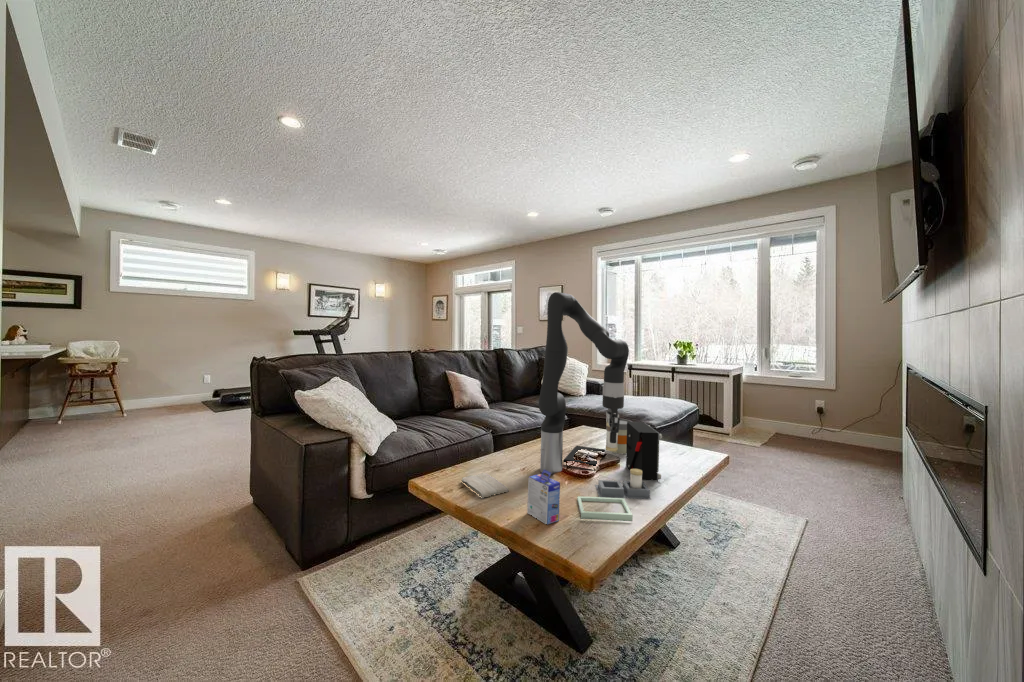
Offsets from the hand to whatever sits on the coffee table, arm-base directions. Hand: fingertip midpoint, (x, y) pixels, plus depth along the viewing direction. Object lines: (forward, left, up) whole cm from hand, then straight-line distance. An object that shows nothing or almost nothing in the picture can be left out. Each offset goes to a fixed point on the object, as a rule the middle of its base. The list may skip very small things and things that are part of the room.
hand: (611, 440), depth 140 cm
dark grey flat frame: (-5, +37, -20) cm, 42 cm away
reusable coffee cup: (+14, +52, -20) cm, 57 cm away
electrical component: (+17, +21, -20) cm, 34 cm away
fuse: (0, 0, -3) cm, 3 cm away
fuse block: (+4, 0, -20) cm, 20 cm away
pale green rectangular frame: (-5, -14, -20) cm, 25 cm away
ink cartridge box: (-25, -20, -20) cm, 38 cm away
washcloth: (-47, +1, -20) cm, 51 cm away
